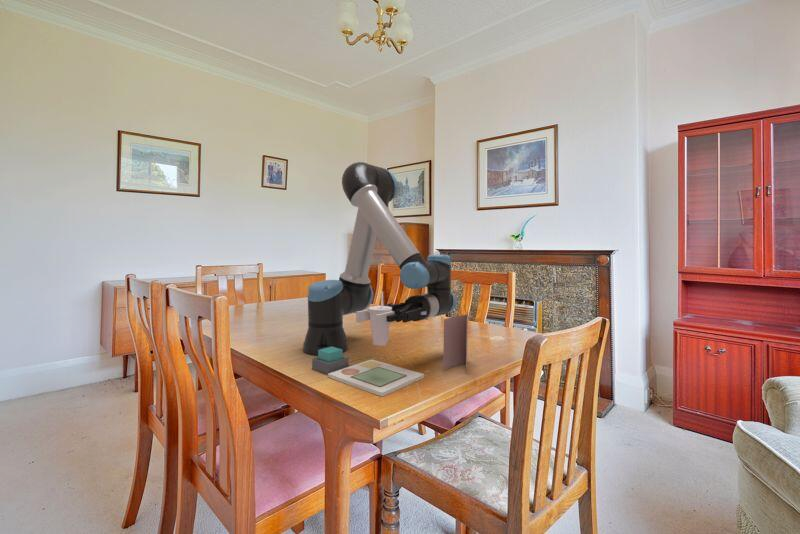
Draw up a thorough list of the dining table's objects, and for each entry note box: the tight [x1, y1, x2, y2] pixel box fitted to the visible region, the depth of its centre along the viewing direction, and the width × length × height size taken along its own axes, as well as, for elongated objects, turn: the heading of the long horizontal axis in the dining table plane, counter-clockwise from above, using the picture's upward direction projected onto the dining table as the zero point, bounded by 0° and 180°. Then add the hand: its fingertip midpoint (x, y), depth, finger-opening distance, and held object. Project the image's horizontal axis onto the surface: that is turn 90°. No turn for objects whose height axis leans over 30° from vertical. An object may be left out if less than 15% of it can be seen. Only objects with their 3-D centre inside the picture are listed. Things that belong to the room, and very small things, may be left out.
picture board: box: [327, 358, 425, 398], centre depth 102 cm, size 20×17×1 cm
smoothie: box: [367, 290, 392, 347], centre depth 99 cm, size 6×6×14 cm
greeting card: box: [442, 313, 469, 371], centre depth 110 cm, size 11×7×15 cm, turn 133°
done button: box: [317, 346, 344, 363], centre depth 109 cm, size 5×5×3 cm
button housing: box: [311, 356, 350, 375], centre depth 109 cm, size 7×7×3 cm
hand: (366, 318), depth 95 cm, fingers closed on smoothie, 6 cm apart
